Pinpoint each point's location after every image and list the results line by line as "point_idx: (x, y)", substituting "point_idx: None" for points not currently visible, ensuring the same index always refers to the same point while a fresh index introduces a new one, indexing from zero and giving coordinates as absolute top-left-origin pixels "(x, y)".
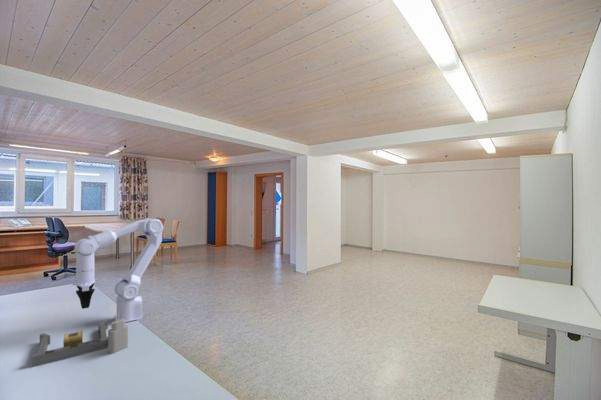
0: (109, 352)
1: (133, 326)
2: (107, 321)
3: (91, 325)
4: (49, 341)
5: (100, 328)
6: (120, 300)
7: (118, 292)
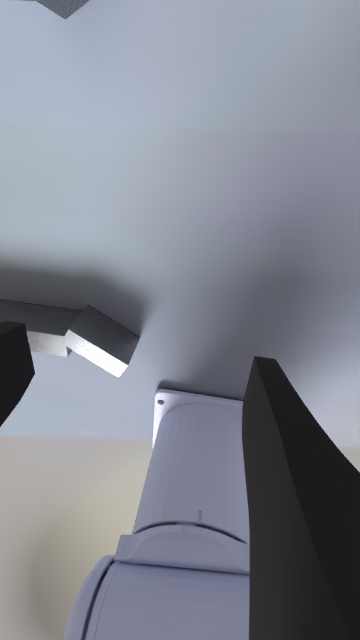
0: None
1: (85, 423)
2: (119, 374)
3: (249, 296)
4: (53, 6)
5: None
6: (144, 533)
7: (183, 606)
